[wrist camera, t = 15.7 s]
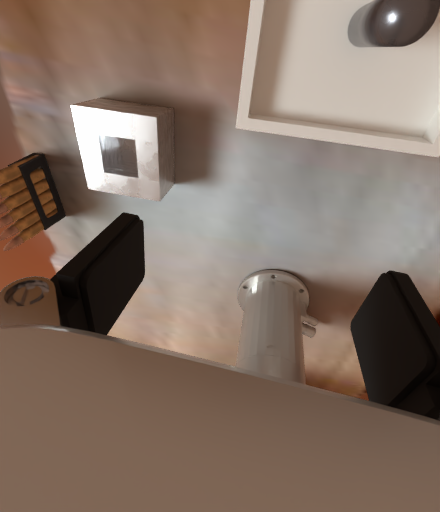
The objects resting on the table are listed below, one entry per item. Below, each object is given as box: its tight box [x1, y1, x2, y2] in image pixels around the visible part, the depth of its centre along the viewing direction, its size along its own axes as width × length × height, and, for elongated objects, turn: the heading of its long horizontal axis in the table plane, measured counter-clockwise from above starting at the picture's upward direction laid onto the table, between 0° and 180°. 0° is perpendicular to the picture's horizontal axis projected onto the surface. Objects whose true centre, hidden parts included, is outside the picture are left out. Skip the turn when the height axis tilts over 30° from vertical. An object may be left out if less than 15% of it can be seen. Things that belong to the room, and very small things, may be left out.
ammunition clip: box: [0, 153, 66, 251], centre depth 40 cm, size 11×2×12 cm, turn 178°
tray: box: [236, 0, 440, 157], centre depth 26 cm, size 22×20×4 cm
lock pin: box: [348, 0, 440, 47], centre depth 22 cm, size 3×3×12 cm
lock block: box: [71, 98, 175, 201], centre depth 36 cm, size 10×10×6 cm
